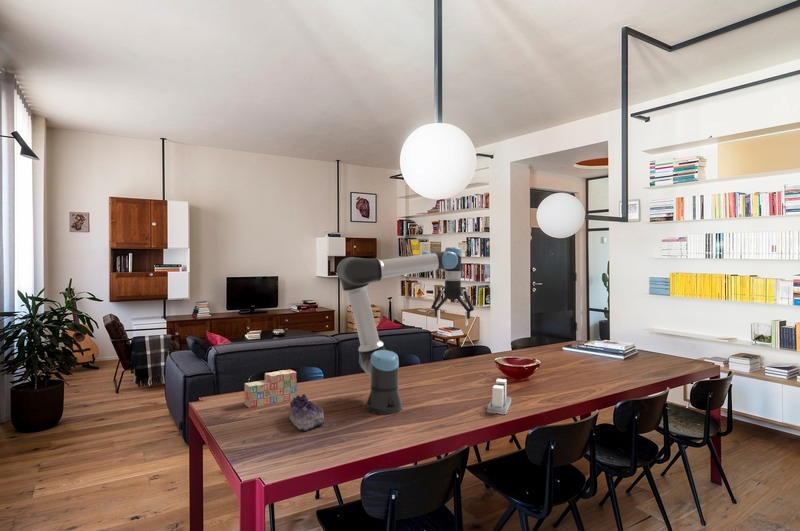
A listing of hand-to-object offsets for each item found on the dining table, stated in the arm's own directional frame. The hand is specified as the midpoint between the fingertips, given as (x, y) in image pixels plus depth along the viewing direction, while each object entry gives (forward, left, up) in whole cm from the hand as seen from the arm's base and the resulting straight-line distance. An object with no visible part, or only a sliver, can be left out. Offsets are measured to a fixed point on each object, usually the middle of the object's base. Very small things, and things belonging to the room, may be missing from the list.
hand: (452, 324), depth 223 cm
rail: (-14, -25, -32) cm, 43 cm away
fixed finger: (-19, -25, -32) cm, 45 cm away
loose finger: (-11, -25, -31) cm, 41 cm away
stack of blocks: (-46, +69, -32) cm, 89 cm away
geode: (-62, +43, -32) cm, 82 cm away
